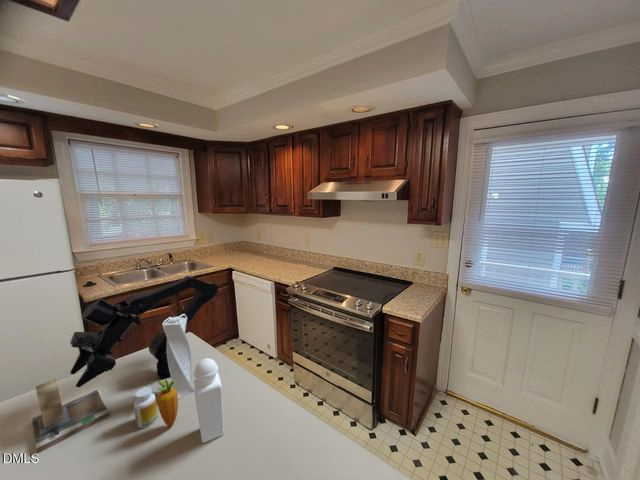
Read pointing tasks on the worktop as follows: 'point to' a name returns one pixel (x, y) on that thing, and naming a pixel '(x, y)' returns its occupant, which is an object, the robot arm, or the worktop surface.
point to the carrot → (168, 402)
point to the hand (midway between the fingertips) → (74, 380)
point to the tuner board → (73, 420)
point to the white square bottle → (209, 399)
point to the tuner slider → (51, 409)
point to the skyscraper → (178, 354)
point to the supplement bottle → (145, 407)
